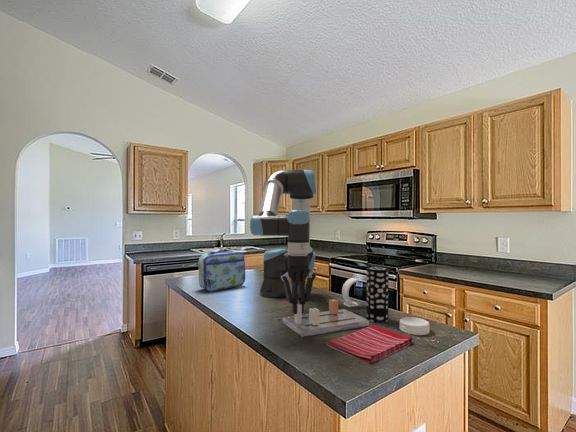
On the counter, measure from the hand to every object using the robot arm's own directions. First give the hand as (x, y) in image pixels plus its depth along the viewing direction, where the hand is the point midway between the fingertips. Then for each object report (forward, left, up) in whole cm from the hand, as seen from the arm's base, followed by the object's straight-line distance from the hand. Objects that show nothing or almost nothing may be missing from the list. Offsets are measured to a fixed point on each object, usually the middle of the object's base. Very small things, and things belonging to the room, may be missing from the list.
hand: (297, 322), depth 110 cm
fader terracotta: (-8, +20, -1) cm, 21 cm away
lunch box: (-79, -9, -4) cm, 80 cm away
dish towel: (+18, +17, -4) cm, 25 cm away
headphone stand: (-22, +38, -4) cm, 44 cm away
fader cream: (0, +6, -1) cm, 7 cm away
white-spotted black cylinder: (-1, +35, -4) cm, 36 cm away
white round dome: (+14, +39, -4) cm, 42 cm away
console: (-4, +13, -3) cm, 14 cm away
